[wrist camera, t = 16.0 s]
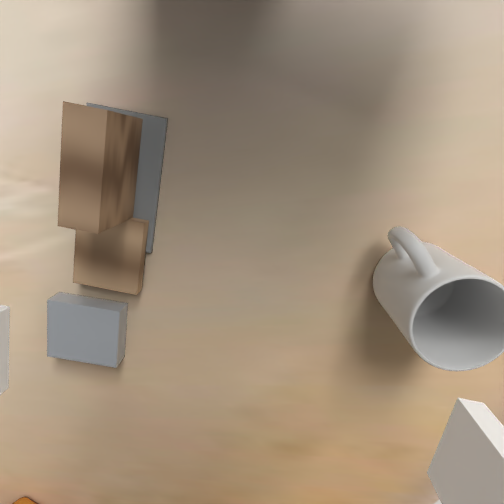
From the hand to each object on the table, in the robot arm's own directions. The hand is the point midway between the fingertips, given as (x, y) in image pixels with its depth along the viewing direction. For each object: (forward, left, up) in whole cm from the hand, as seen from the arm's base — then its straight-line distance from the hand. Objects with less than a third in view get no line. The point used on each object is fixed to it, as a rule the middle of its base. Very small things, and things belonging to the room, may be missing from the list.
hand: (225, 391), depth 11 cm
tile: (+16, -13, -28) cm, 34 cm away
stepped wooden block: (+1, -15, -28) cm, 32 cm away
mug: (+2, +16, -29) cm, 33 cm away
